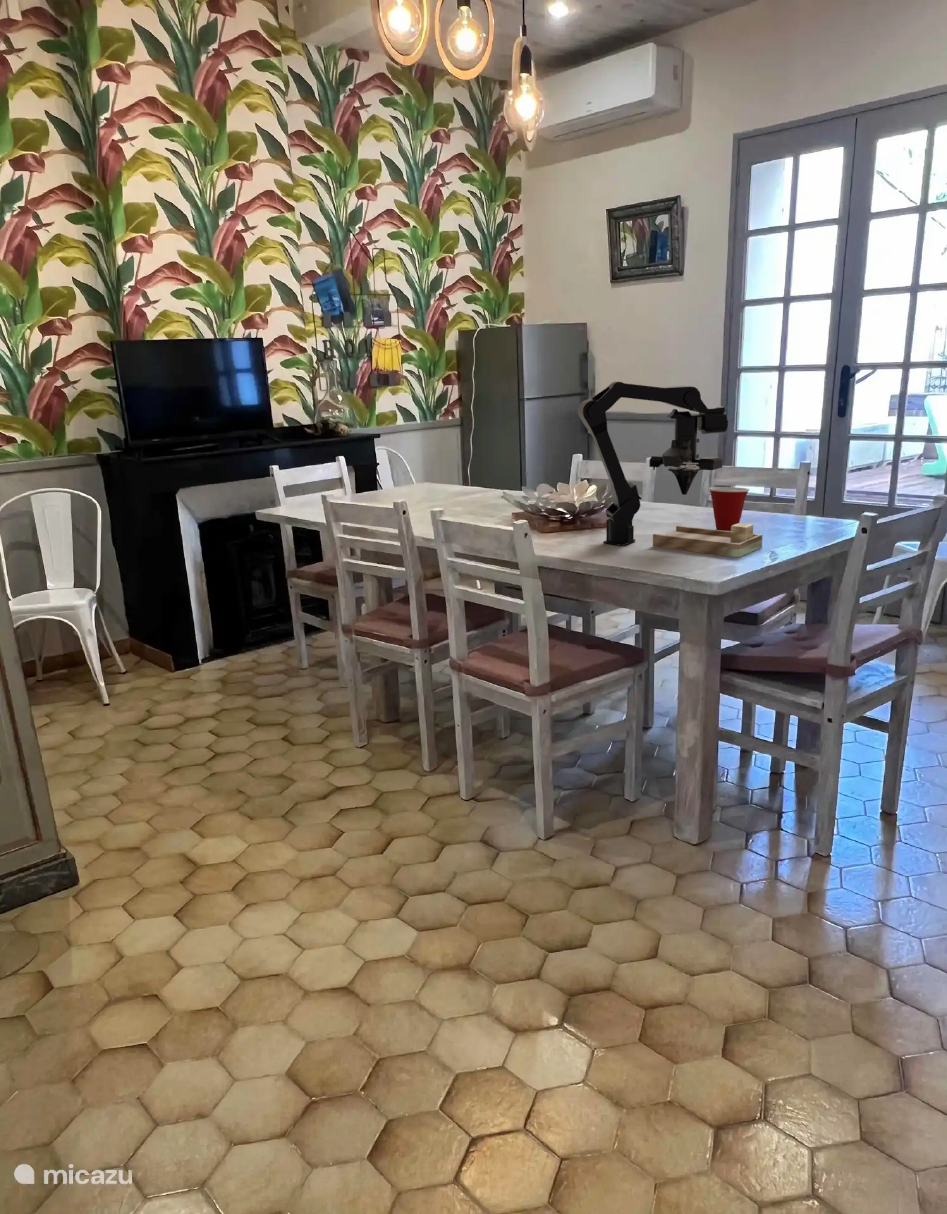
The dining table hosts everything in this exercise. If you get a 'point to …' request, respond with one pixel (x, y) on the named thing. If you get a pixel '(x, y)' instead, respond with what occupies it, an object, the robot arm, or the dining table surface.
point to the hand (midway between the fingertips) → (684, 494)
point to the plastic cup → (727, 506)
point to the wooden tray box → (706, 541)
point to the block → (741, 532)
